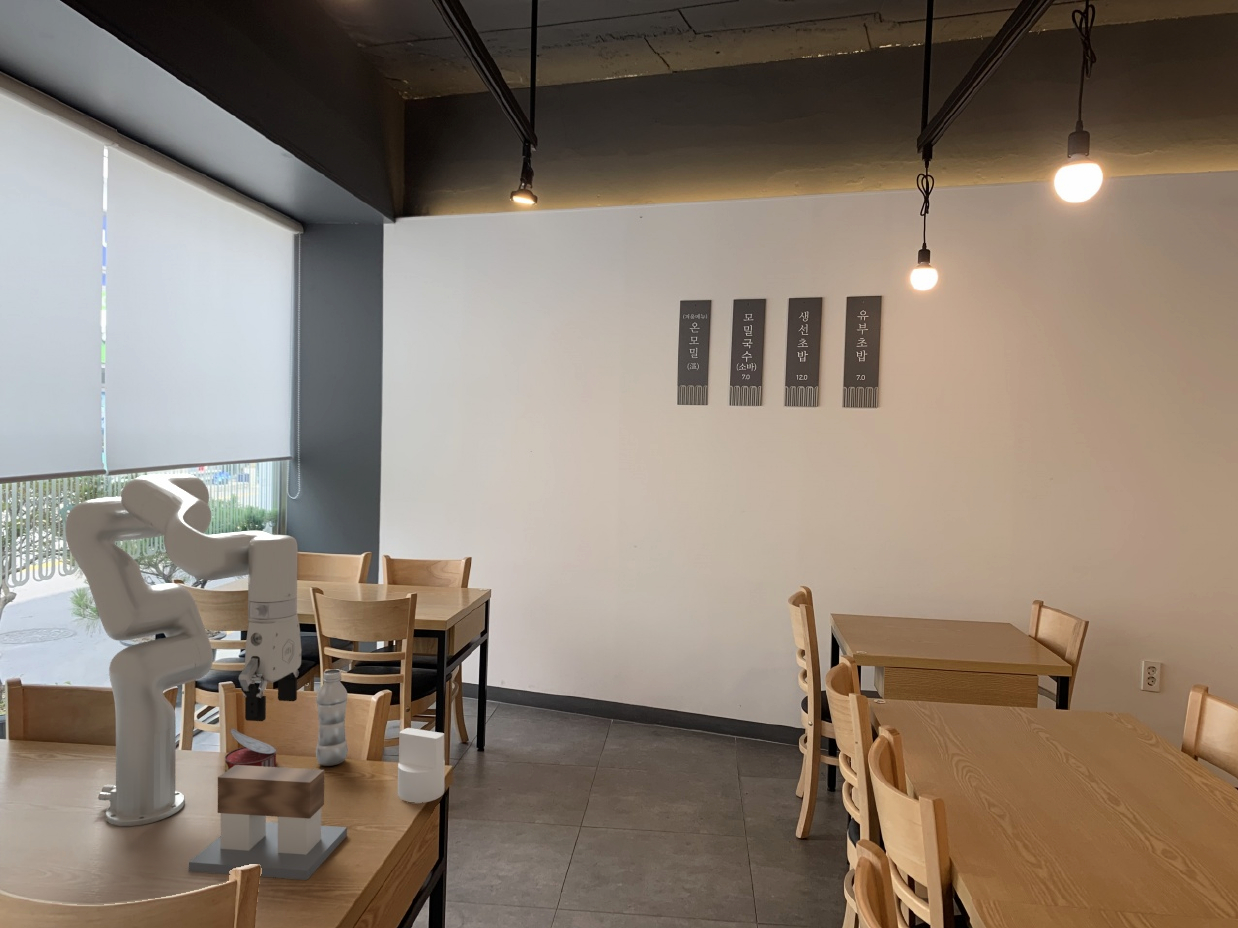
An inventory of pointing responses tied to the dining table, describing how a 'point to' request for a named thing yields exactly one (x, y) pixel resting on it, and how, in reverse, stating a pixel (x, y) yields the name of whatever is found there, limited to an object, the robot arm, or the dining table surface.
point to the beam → (271, 791)
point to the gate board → (270, 846)
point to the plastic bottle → (331, 720)
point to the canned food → (250, 753)
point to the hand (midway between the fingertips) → (271, 709)
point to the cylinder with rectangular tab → (421, 765)
